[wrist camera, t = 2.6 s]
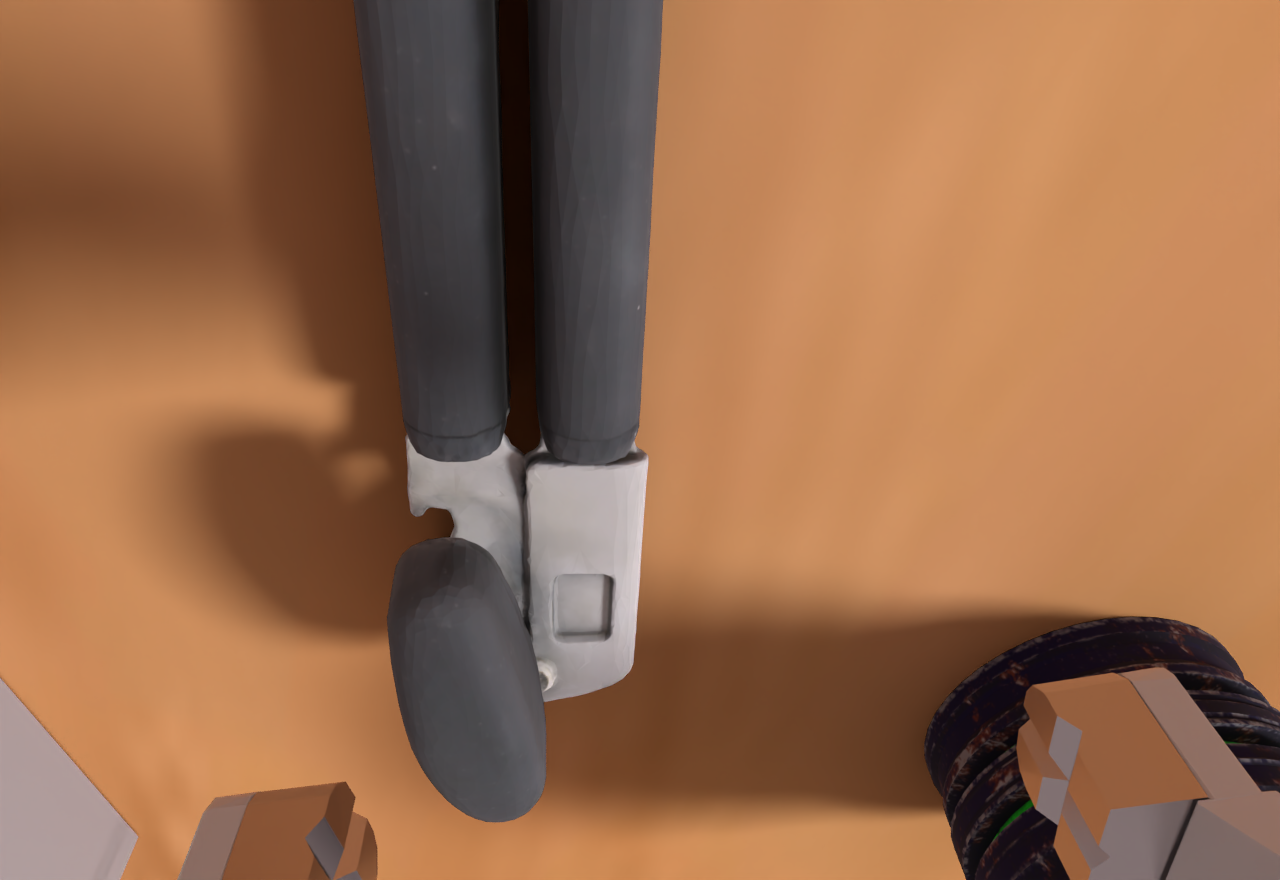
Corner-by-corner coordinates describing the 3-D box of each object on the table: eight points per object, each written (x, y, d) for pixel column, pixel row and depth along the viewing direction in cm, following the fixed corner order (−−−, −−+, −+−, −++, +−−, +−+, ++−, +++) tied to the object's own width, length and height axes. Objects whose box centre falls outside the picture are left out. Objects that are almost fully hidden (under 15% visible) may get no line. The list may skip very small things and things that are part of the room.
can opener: (628, 636, 24) (645, 860, 19) (441, 639, 23) (405, 870, 18) (684, -237, 13) (763, -281, 8) (334, -262, 12) (168, -326, 7)
